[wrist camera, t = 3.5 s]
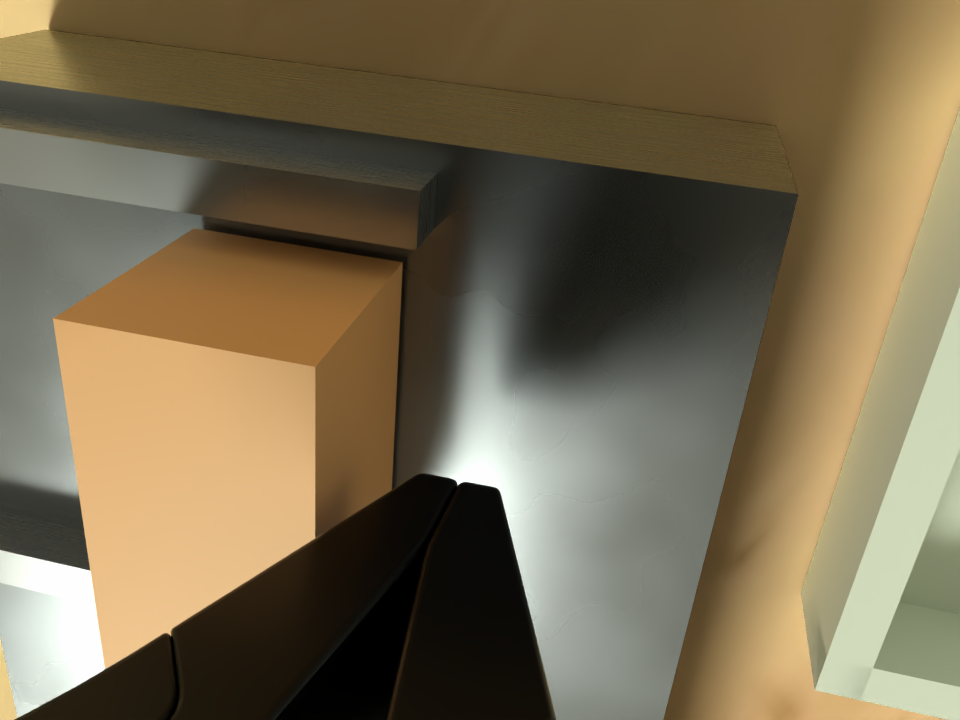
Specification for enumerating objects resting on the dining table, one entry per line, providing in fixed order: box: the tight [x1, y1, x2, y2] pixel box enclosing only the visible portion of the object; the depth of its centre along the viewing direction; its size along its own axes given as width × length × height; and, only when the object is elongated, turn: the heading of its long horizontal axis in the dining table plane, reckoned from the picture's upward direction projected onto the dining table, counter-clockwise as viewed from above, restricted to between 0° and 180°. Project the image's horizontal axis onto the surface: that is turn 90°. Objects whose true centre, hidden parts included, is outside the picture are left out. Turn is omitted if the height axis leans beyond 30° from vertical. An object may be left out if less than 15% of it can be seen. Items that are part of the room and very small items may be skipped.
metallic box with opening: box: [0, 30, 798, 720], centre depth 14 cm, size 10×18×4 cm, turn 175°
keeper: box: [53, 228, 403, 669], centre depth 10 cm, size 2×4×2 cm, turn 175°
